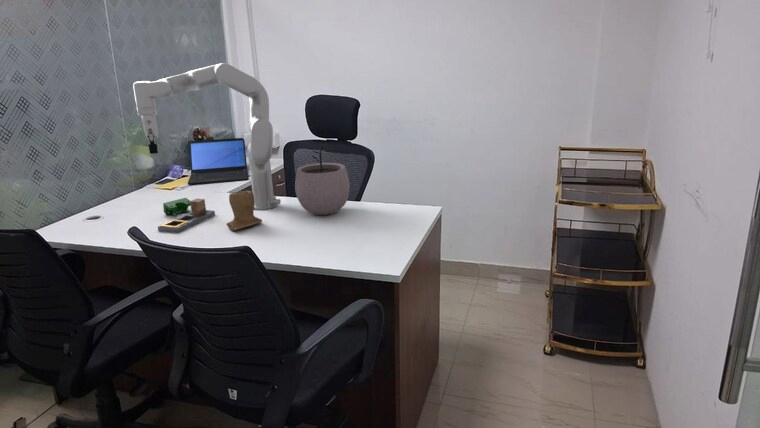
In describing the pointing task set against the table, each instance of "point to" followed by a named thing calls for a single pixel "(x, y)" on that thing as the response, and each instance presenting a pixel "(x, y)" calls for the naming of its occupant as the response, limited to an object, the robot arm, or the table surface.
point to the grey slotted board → (184, 222)
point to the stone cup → (242, 210)
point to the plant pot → (322, 187)
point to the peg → (198, 206)
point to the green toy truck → (176, 206)
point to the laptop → (217, 161)
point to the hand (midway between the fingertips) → (153, 151)
